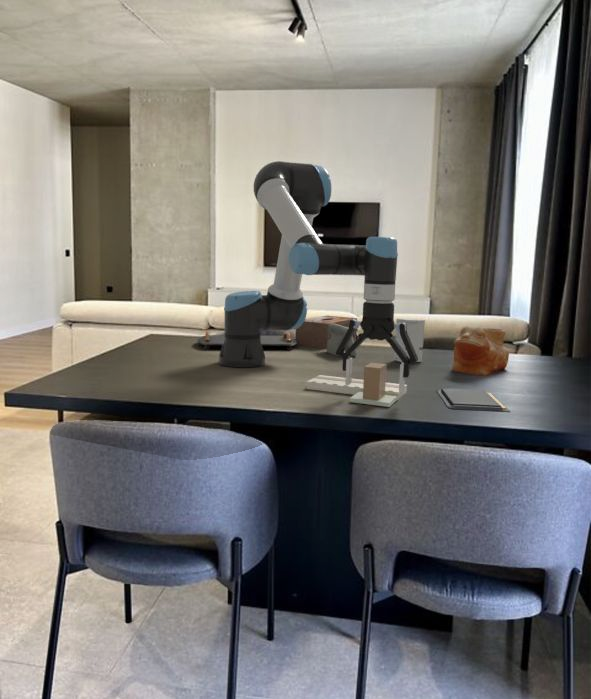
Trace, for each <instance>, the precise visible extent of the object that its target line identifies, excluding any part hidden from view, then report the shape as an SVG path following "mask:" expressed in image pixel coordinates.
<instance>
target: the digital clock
mask: <svg viewBox="0 0 591 699" xmlns="http://www.w3.org/2000/svg"><path fill="white" fill-rule="evenodd" d="M328 328H329V332H330V336H331V338H330V339H329V340H328V341H327V349H326V353H327V354H330V355H333V356H335V357H340V356H339V355H336V351H337V349H338V347H339V345H340V343H341V342H342V340H343V338H344V336H345V334H346V332H347V331H348V329H349V328H347V327H344V326H341V325H337V324H333V323H330V324H329V325H328ZM353 343H354V339H353V336H352V337H351V339H350V341H349V343H348V345H347V347H346V348H345V350H344V351H345V352H346V351H347V350H348V349H349V348H350V347H351V345H352V344H353ZM357 349H358V348H357ZM357 349H356V350H355V351H354V352H353V353H352V354H351V355H350V357H351V358H354V357H357V356H358V350H357Z"/></svg>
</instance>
